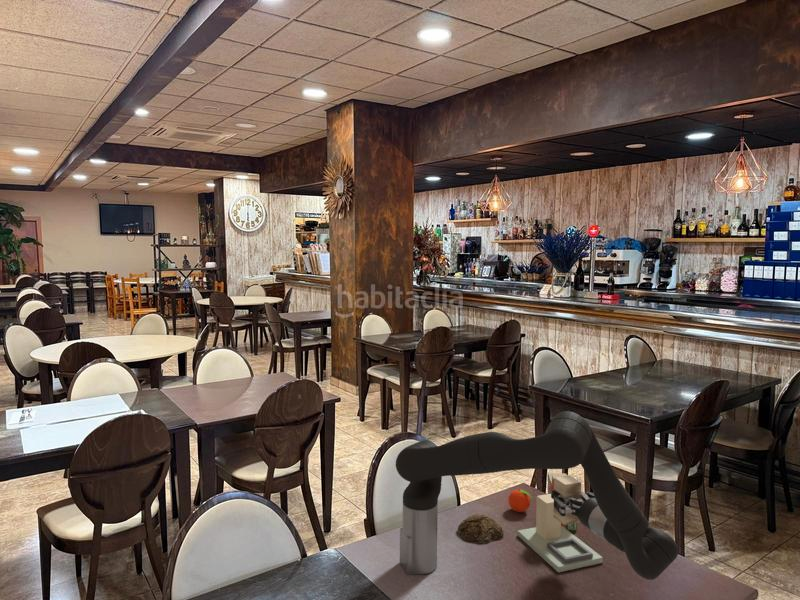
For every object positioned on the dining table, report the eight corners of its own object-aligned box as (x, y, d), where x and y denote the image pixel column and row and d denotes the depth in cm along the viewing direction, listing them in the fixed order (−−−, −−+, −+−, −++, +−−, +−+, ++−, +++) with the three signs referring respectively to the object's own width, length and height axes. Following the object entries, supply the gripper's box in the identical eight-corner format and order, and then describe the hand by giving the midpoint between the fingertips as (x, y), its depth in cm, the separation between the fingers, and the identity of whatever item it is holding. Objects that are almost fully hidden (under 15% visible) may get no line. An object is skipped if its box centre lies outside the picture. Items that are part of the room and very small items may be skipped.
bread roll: (483, 519, 174) (483, 504, 174) (509, 537, 164) (509, 521, 163) (449, 529, 168) (449, 514, 167) (474, 549, 157) (474, 532, 157)
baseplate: (558, 572, 145) (559, 526, 144) (517, 535, 164) (518, 494, 163) (602, 562, 150) (604, 518, 149) (557, 527, 169) (559, 487, 168)
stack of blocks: (546, 498, 189) (547, 463, 188) (565, 499, 188) (566, 464, 187) (556, 529, 168) (557, 490, 167) (577, 531, 167) (578, 491, 166)
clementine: (536, 510, 180) (536, 488, 180) (529, 518, 174) (530, 497, 174) (512, 504, 184) (512, 483, 184) (505, 512, 178) (505, 491, 178)
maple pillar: (564, 525, 147) (565, 484, 146) (553, 516, 152) (554, 477, 151) (580, 522, 149) (581, 482, 148) (568, 514, 153) (569, 475, 152)
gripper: (626, 500, 138) (583, 475, 154) (578, 509, 134) (538, 482, 150) (626, 530, 139) (582, 501, 155) (577, 539, 134) (538, 509, 150)
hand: (561, 492), depth 152 cm, fingers closed on maple pillar, 5 cm apart
